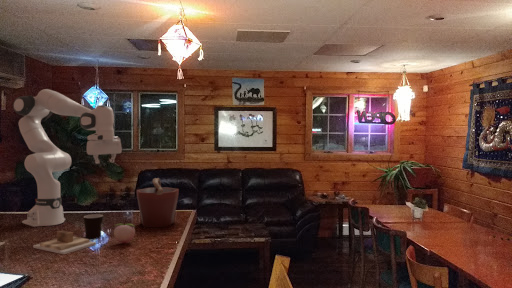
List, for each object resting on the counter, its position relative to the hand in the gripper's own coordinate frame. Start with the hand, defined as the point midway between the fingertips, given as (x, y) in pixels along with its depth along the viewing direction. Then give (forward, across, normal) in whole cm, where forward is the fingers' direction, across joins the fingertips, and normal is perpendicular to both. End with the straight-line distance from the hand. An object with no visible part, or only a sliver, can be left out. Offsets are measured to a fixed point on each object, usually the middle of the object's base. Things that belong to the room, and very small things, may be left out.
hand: (105, 162), depth 205 cm
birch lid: (+33, +33, +12) cm, 48 cm away
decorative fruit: (+34, +18, +32) cm, 50 cm away
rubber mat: (+34, +33, +12) cm, 49 cm away
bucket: (+34, -19, +18) cm, 43 cm away
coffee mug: (+34, +15, +10) cm, 39 cm away
